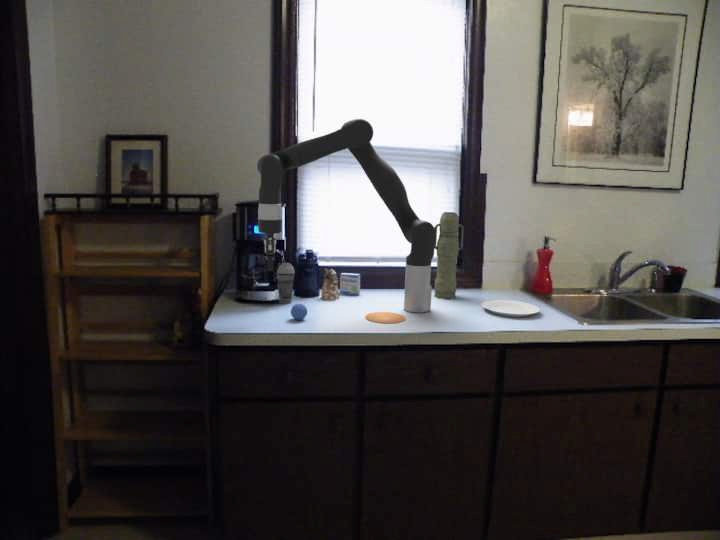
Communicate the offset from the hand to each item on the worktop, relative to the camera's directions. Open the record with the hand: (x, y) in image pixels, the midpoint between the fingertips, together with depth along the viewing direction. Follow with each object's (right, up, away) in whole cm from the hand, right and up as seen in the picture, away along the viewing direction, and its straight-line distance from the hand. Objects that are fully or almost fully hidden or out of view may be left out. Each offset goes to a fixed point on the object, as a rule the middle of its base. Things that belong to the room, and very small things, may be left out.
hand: (270, 270), depth 167 cm
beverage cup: (+1, -13, +27) cm, 30 cm away
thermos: (+65, -11, +44) cm, 79 cm away
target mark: (+38, -17, +10) cm, 43 cm away
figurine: (+18, -11, +36) cm, 42 cm away
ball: (+9, -14, +4) cm, 17 cm away
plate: (+86, -16, +23) cm, 90 cm away
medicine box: (+25, -10, +44) cm, 52 cm away
